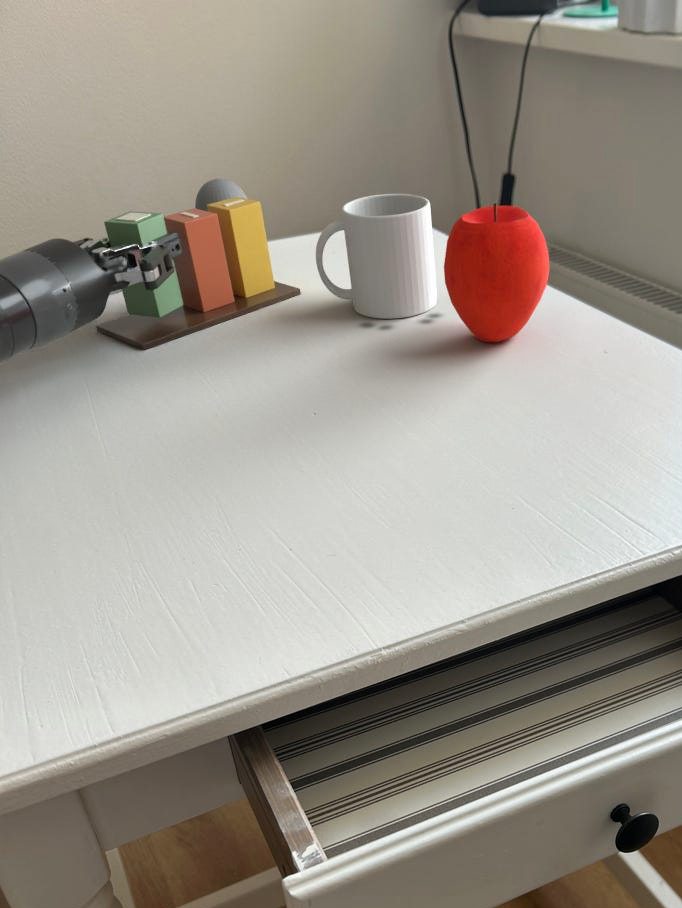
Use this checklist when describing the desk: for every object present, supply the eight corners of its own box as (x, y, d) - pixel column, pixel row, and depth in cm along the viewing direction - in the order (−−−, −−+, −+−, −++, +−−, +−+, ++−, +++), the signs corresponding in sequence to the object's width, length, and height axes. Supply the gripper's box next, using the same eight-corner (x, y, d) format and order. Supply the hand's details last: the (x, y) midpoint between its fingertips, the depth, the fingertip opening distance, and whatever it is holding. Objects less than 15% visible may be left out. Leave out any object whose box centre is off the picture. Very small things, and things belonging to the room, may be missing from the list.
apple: (550, 355, 91) (549, 216, 83) (444, 358, 91) (434, 221, 84) (549, 317, 99) (548, 187, 91) (452, 320, 99) (443, 191, 92)
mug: (451, 295, 105) (444, 196, 99) (409, 325, 99) (400, 221, 92) (364, 285, 109) (353, 189, 103) (318, 314, 102) (303, 213, 96)
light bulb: (244, 259, 119) (227, 170, 113) (269, 269, 116) (253, 178, 109) (200, 270, 116) (180, 180, 110) (224, 281, 113) (205, 188, 106)
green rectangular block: (128, 314, 100) (103, 220, 94) (152, 301, 103) (129, 210, 97) (160, 317, 98) (136, 222, 93) (183, 305, 101) (162, 212, 96)
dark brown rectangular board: (96, 331, 102) (95, 325, 101) (251, 279, 113) (250, 273, 112) (144, 350, 97) (143, 344, 96) (301, 293, 108) (300, 288, 108)
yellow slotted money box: (224, 291, 108) (206, 203, 102) (253, 281, 110) (237, 195, 105) (246, 298, 106) (229, 209, 100) (275, 288, 108) (260, 200, 102)
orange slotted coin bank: (182, 305, 105) (161, 216, 99) (212, 294, 107) (194, 207, 102) (203, 312, 103) (183, 221, 97) (234, 302, 105) (216, 212, 99)
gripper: (91, 257, 82) (209, 205, 94) (-37, 246, 87) (92, 198, 99) (115, 344, 87) (225, 284, 99) (-7, 329, 91) (112, 273, 104)
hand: (158, 241), depth 99 cm, fingers closed on green rectangular block, 4 cm apart
